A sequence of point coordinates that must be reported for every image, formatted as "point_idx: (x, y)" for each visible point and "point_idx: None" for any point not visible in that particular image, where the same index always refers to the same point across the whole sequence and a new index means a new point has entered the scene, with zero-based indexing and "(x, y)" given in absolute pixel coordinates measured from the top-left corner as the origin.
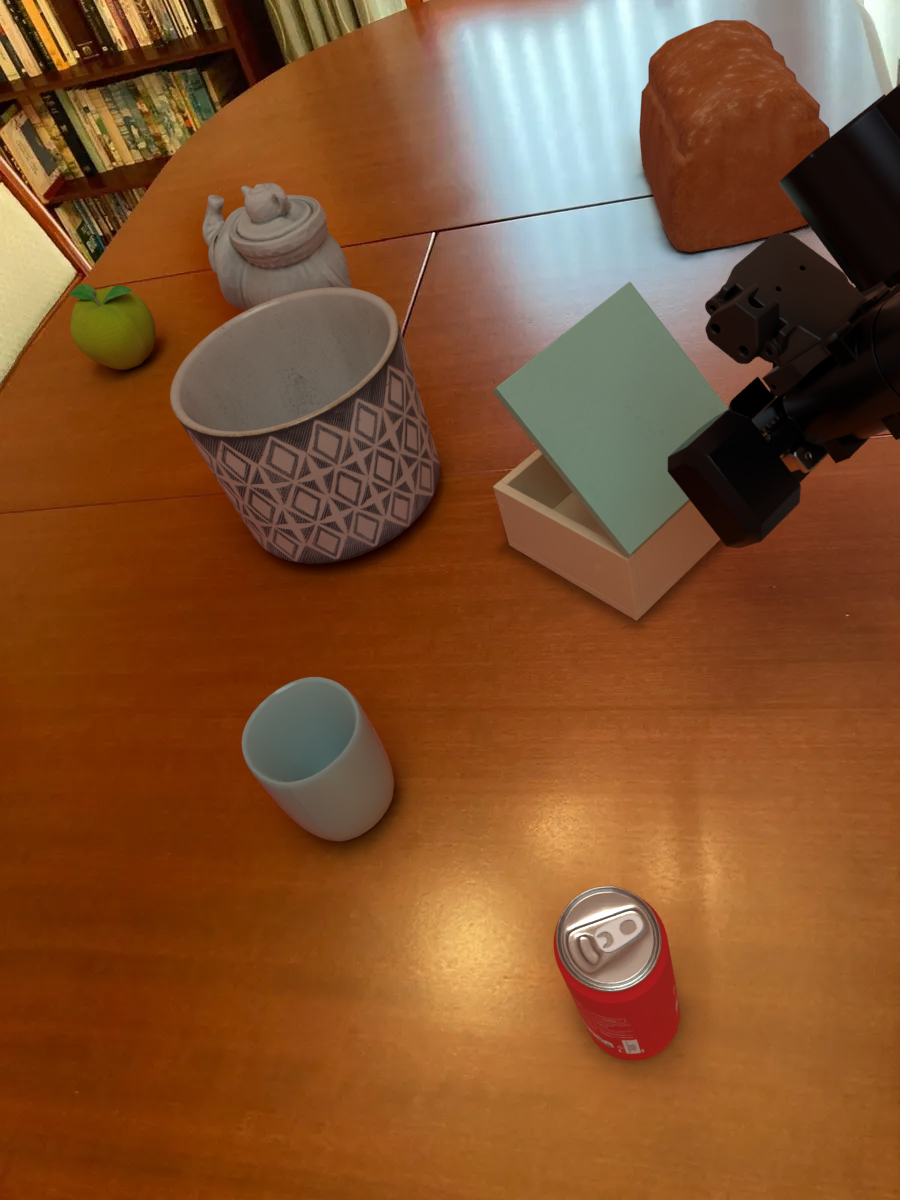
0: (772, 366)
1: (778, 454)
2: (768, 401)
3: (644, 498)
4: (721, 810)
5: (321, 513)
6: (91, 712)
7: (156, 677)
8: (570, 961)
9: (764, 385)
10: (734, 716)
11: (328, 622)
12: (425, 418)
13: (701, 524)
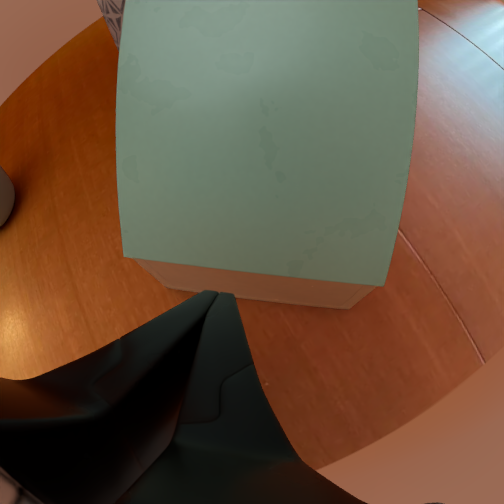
0: (127, 491)
1: None
2: (11, 480)
3: (183, 224)
4: None
5: (119, 42)
6: (40, 82)
7: (57, 82)
8: None
9: (4, 465)
10: None
11: (100, 106)
12: None
13: (270, 289)
